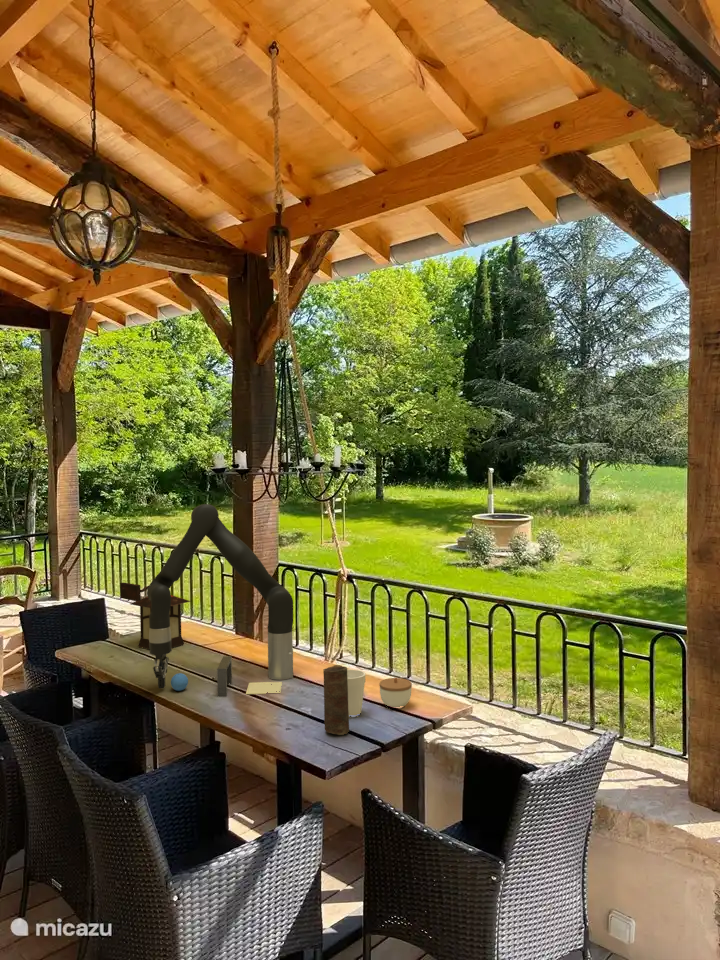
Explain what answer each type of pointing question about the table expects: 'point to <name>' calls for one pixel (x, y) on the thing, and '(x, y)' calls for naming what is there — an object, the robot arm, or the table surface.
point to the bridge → (224, 675)
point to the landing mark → (264, 687)
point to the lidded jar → (395, 691)
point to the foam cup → (355, 690)
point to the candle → (336, 700)
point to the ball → (179, 682)
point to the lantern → (134, 593)
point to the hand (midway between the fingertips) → (161, 687)
